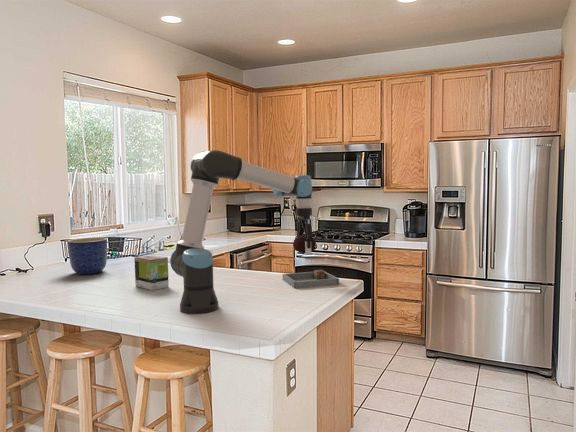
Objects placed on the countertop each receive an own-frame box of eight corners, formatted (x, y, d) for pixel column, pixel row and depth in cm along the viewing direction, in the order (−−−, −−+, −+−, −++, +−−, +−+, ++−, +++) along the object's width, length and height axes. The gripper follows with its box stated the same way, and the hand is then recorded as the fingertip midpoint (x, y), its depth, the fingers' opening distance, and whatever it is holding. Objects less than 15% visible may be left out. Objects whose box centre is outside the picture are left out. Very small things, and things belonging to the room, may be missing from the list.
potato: (311, 255, 220) (311, 236, 219) (289, 254, 226) (289, 235, 225) (319, 253, 228) (319, 234, 227) (297, 251, 234) (297, 233, 233)
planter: (95, 268, 280) (93, 236, 278) (116, 271, 268) (114, 238, 266) (61, 274, 263) (60, 240, 262) (82, 278, 251) (80, 242, 250)
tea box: (169, 287, 227) (168, 256, 225) (151, 290, 219) (149, 259, 218) (153, 282, 237) (151, 253, 236) (134, 286, 230) (133, 256, 228)
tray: (294, 289, 216) (294, 282, 216) (282, 280, 235) (282, 274, 235) (338, 285, 222) (338, 278, 222) (323, 277, 241) (323, 270, 241)
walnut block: (316, 279, 234) (316, 271, 233) (314, 278, 238) (314, 270, 237) (324, 279, 235) (324, 271, 235) (321, 277, 239) (321, 269, 238)
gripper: (319, 208, 215) (320, 256, 217) (303, 205, 237) (304, 249, 239) (303, 209, 213) (304, 257, 215) (289, 206, 235) (290, 250, 237)
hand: (304, 253), depth 227 cm, fingers closed on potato, 10 cm apart
